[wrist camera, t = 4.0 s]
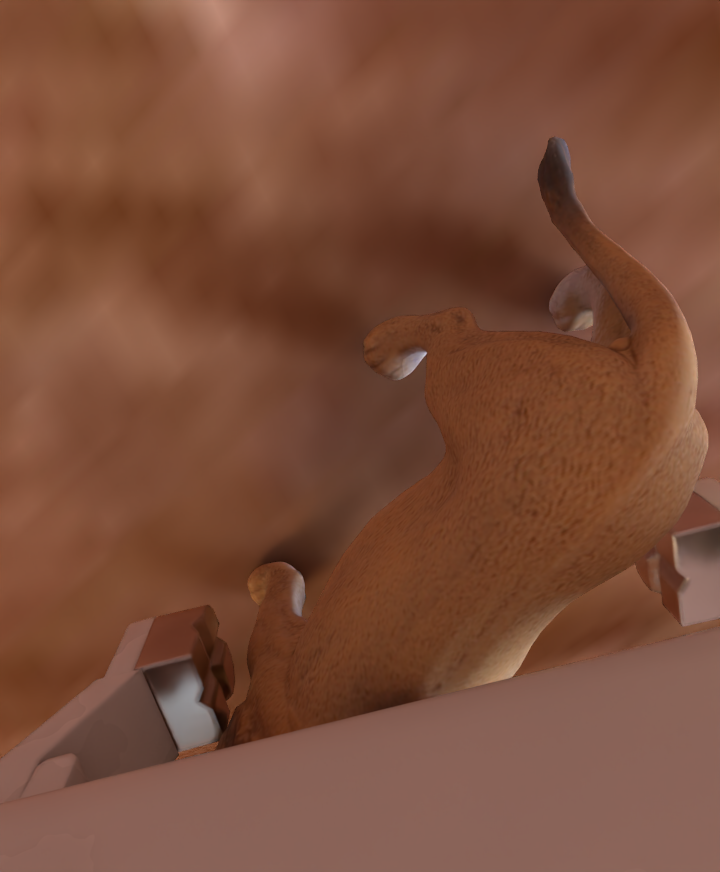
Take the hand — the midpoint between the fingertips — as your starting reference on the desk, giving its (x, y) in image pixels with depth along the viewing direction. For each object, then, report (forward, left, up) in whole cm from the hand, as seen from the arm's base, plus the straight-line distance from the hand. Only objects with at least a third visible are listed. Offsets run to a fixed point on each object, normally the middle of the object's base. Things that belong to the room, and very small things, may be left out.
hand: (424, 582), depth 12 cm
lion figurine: (0, 0, -3) cm, 3 cm away
